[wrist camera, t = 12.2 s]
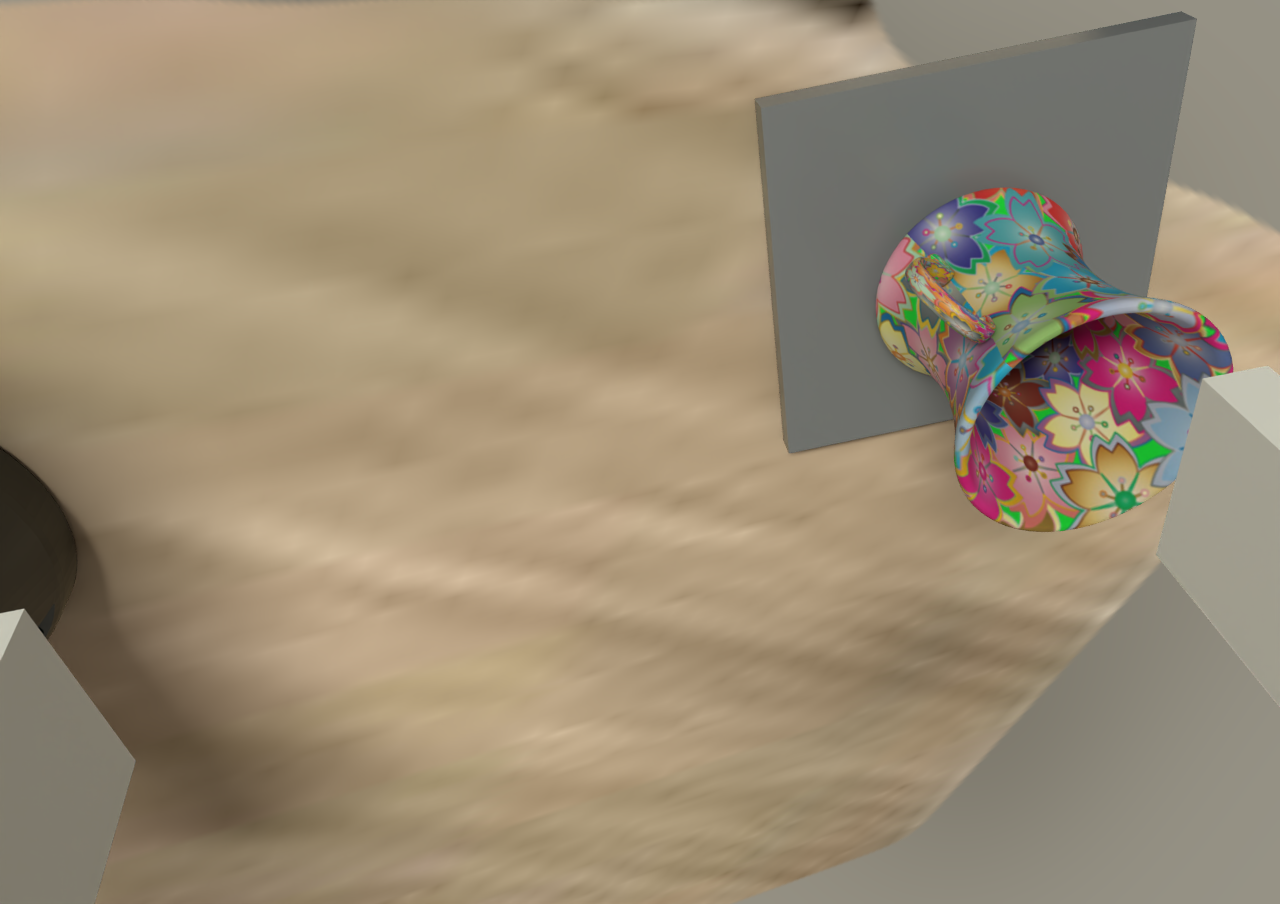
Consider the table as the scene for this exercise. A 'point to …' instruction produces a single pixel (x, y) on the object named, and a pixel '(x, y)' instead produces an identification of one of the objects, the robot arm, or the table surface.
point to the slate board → (951, 194)
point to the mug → (1044, 361)
